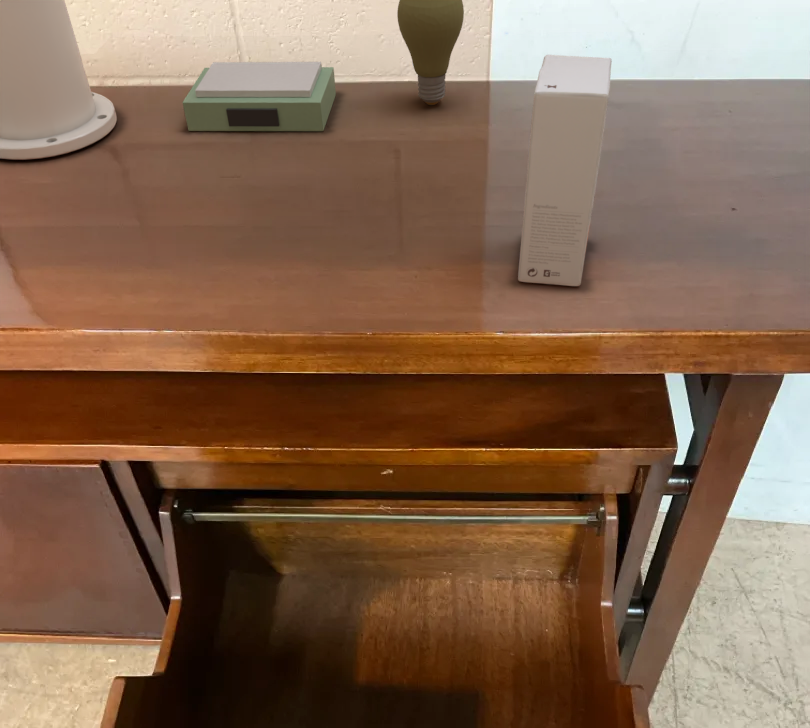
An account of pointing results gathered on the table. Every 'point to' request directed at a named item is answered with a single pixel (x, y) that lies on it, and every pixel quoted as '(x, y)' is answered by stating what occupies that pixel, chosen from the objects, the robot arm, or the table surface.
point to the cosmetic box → (563, 167)
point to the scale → (261, 97)
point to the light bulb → (430, 41)
